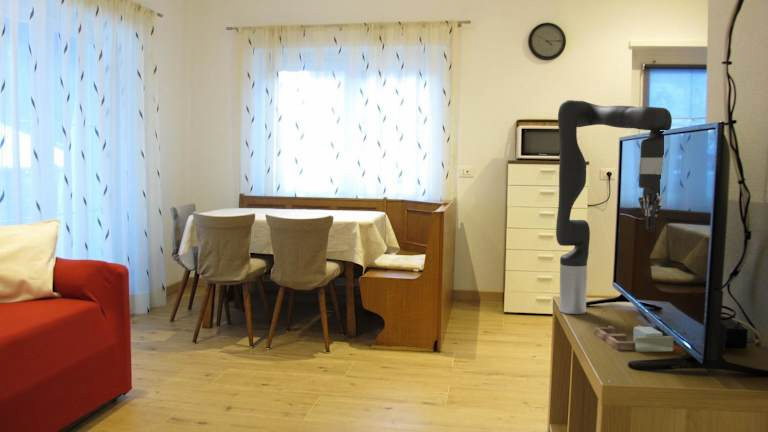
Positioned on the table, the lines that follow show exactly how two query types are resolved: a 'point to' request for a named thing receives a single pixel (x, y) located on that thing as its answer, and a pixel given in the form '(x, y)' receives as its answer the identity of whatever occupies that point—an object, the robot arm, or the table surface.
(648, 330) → the blue grey block
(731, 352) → the table surface
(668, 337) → the trap lane
